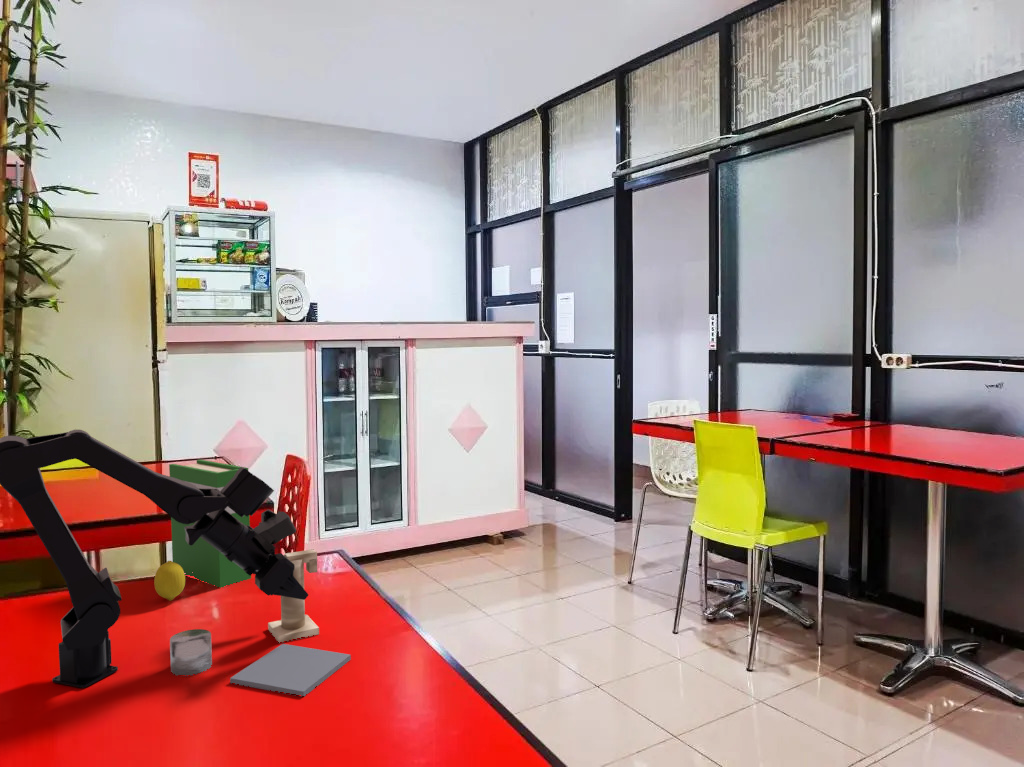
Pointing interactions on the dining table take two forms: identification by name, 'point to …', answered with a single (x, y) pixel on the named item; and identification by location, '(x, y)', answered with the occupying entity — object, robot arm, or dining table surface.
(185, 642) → the steel tin
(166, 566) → the lemon
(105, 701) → the dining table surface
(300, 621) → the beige stacked pedestal
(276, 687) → the mat
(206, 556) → the hardback book
